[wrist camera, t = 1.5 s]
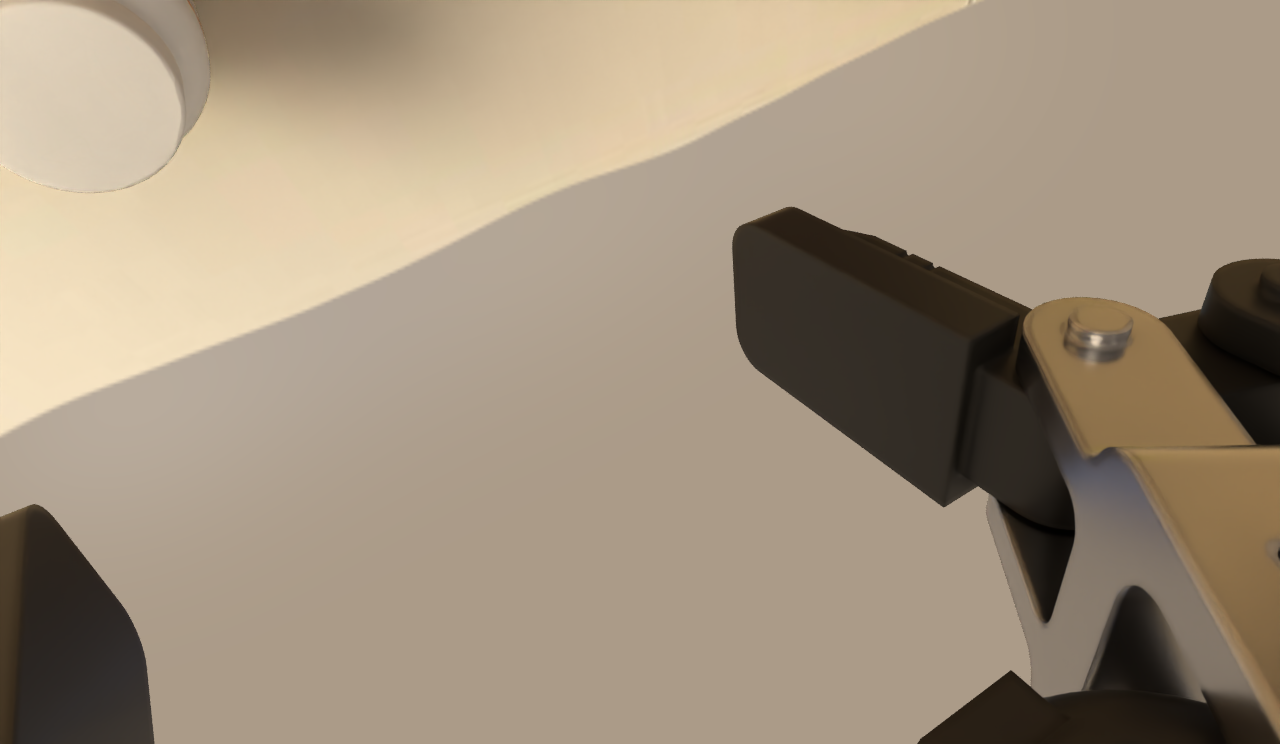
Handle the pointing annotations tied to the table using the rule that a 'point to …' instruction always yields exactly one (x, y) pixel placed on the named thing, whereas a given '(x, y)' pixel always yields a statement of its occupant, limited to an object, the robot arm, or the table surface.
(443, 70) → the table surface
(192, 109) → the supplement bottle
